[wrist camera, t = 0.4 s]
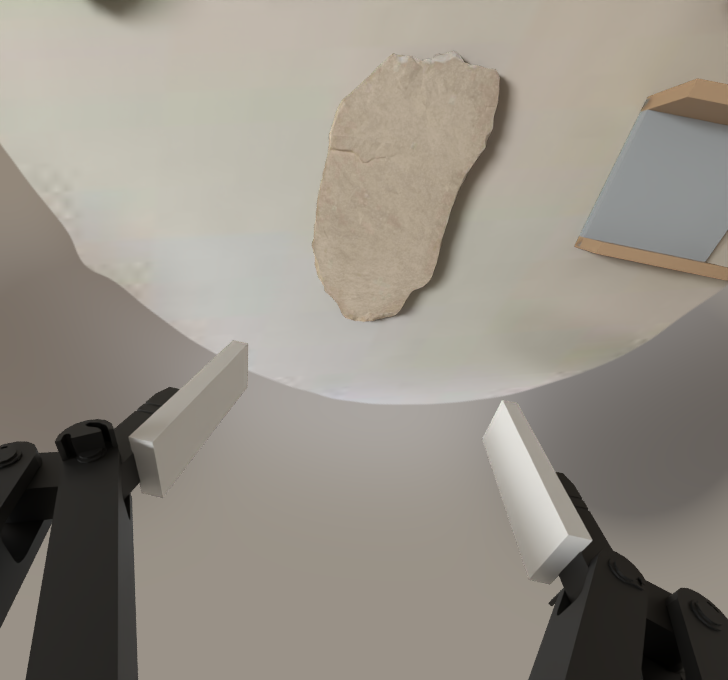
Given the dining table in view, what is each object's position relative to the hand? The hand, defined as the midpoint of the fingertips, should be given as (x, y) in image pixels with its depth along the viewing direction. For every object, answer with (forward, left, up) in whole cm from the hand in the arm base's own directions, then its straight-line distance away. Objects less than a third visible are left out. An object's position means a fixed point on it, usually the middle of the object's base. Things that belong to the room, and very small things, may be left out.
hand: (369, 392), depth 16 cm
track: (-14, +28, -27) cm, 42 cm away
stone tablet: (-7, -2, -28) cm, 29 cm away
